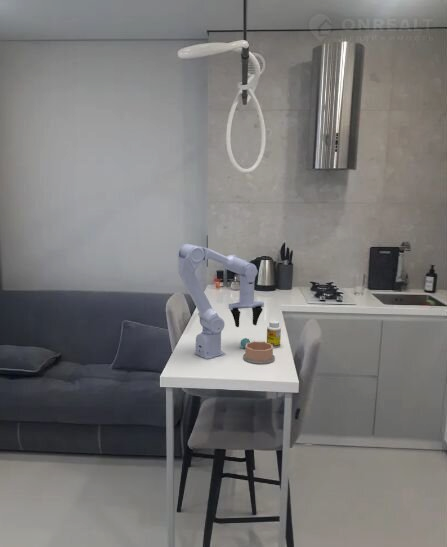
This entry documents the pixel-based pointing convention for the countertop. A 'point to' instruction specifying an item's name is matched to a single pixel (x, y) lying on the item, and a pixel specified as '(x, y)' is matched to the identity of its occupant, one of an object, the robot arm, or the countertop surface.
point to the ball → (244, 342)
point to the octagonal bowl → (259, 353)
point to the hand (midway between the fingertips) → (245, 325)
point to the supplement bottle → (274, 333)
